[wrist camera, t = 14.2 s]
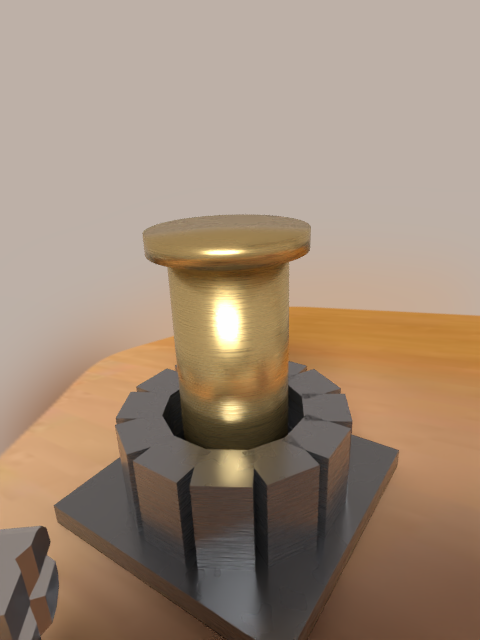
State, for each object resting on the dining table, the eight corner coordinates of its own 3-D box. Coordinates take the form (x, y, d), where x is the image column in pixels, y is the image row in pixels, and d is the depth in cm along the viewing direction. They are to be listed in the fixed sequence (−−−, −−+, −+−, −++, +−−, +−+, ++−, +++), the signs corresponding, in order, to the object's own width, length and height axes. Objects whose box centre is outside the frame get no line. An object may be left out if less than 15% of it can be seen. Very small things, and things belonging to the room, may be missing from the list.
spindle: (248, 421, 26) (241, 210, 22) (332, 481, 21) (346, 226, 17) (147, 470, 22) (114, 229, 18) (222, 555, 18) (203, 256, 13)
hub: (214, 401, 30) (210, 332, 28) (397, 466, 24) (406, 382, 22) (57, 522, 21) (35, 432, 19) (285, 680, 14) (286, 568, 13)
